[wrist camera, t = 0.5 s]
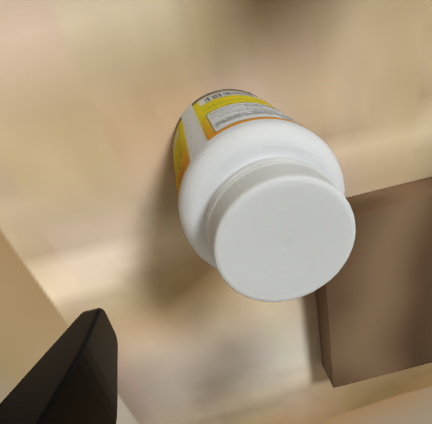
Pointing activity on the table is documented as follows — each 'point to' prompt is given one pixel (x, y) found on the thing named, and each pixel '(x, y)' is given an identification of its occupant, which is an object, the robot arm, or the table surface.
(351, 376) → the walnut block
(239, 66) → the table surface
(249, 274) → the supplement bottle
